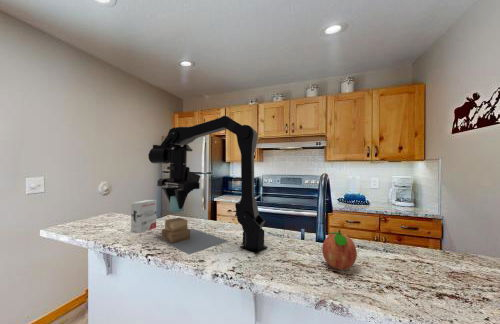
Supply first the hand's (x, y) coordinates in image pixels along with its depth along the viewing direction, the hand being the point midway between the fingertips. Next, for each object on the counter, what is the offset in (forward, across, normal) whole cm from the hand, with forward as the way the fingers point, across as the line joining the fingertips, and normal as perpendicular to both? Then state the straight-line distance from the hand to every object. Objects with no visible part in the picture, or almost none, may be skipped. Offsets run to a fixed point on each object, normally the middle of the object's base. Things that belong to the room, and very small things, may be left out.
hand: (176, 207), depth 77 cm
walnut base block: (+11, 0, 0) cm, 11 cm away
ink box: (+12, +19, +3) cm, 23 cm away
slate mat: (+11, -4, -3) cm, 12 cm away
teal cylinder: (+1, 0, 0) cm, 1 cm away
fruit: (+12, -50, -19) cm, 55 cm away
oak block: (+8, 0, 0) cm, 8 cm away
